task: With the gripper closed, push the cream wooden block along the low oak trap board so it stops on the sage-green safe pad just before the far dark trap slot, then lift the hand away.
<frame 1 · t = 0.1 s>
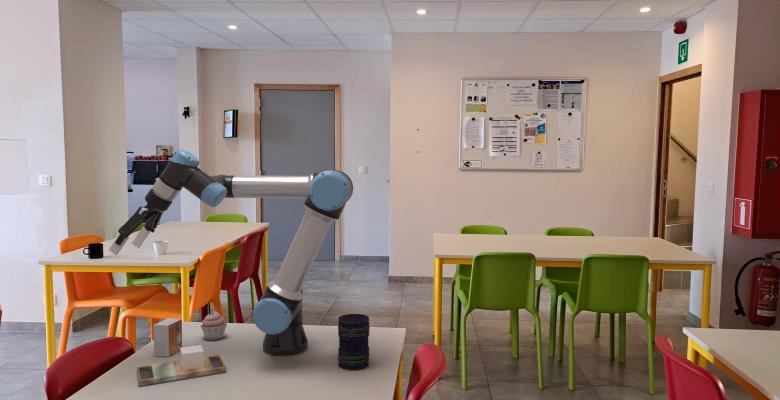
hand: (124, 249, 172), 36 cm above the table, tool tilted 35°, fingers open, 13 cm apart
storage jar: (353, 365, 172), on the table
small box: (168, 353, 182), on the table
block: (192, 365, 166), point 2 cm above the table, touching trap board
cupcake: (213, 338, 197), on the table
trap board: (181, 372, 165), on the table
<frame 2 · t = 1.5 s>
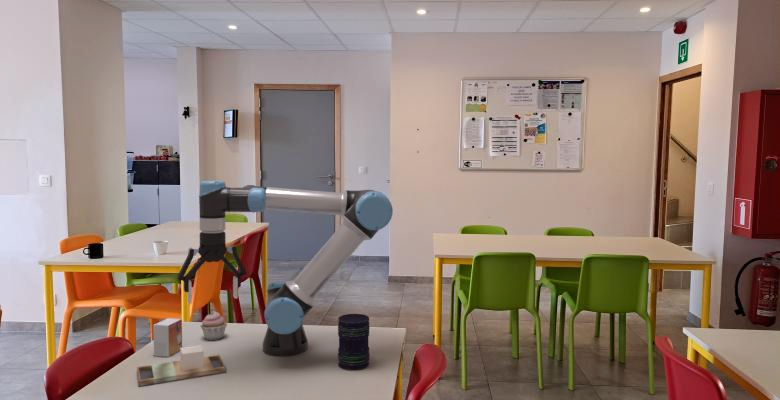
hand: (213, 300, 168), 21 cm above the table, tool pointing down, fingers open, 13 cm apart
nothing on the table moved.
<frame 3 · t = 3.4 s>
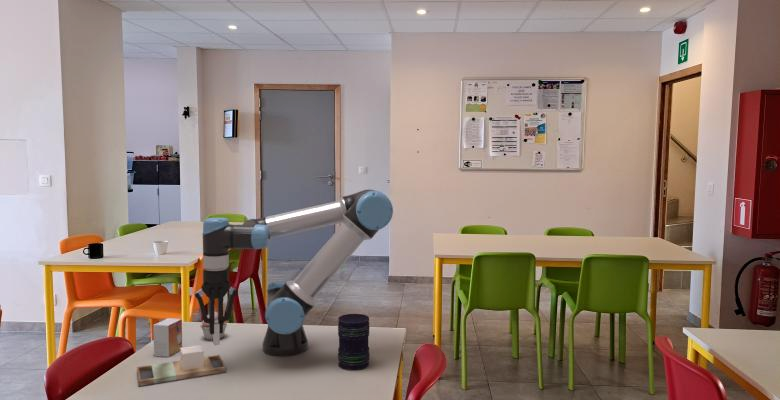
hand: (216, 343, 169), 7 cm above the table, tool pointing down, fingers closed
nothing on the table moved.
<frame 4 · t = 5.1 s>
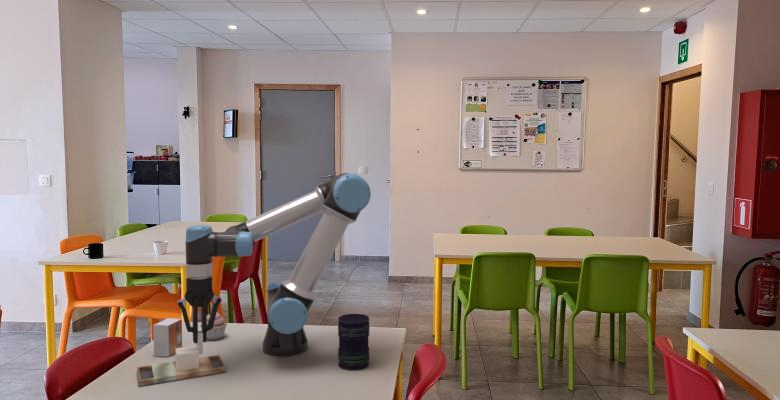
hand: (199, 352, 167), 5 cm above the table, tool pointing down, fingers closed
block: (187, 366, 166), point 2 cm above the table, touching gripper
everything else where it was.
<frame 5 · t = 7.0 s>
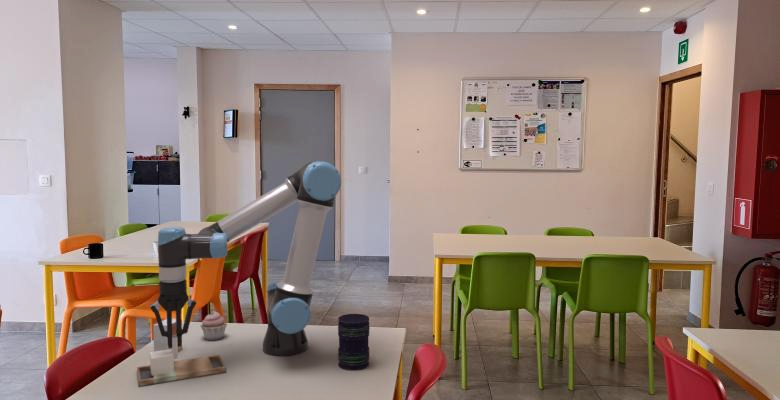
hand: (174, 357, 164), 5 cm above the table, tool pointing down, fingers closed
block: (161, 370, 162), point 2 cm above the table, touching gripper, trap board
everything else where it was.
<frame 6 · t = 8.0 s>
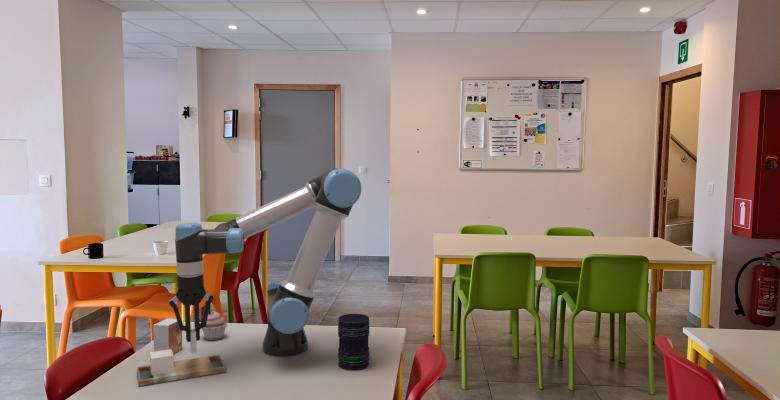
hand: (193, 351, 166), 6 cm above the table, tool pointing down, fingers closed
block: (161, 370, 162), point 2 cm above the table, touching trap board
everything else where it was.
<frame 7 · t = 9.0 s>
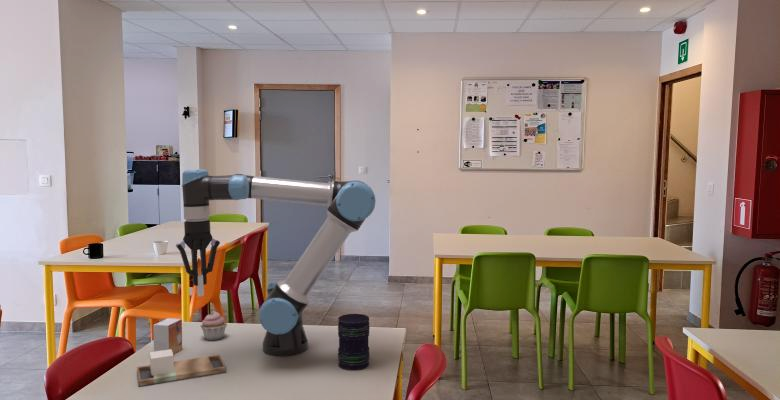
hand: (200, 295, 170), 22 cm above the table, tool pointing down, fingers closed
nothing on the table moved.
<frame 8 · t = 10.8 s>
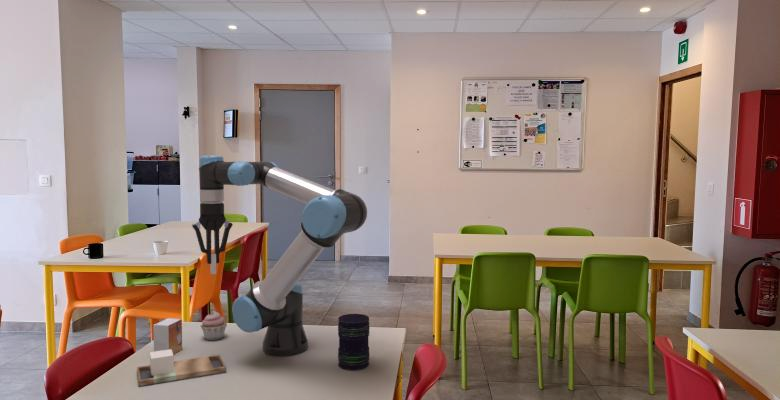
hand: (213, 273, 182), 26 cm above the table, tool pointing down, fingers closed
nothing on the table moved.
at the end: block inside the target area (0.9 cm from its centre), point 1.6 cm above the table; block tilted 0°; the gripper is holding nothing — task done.
